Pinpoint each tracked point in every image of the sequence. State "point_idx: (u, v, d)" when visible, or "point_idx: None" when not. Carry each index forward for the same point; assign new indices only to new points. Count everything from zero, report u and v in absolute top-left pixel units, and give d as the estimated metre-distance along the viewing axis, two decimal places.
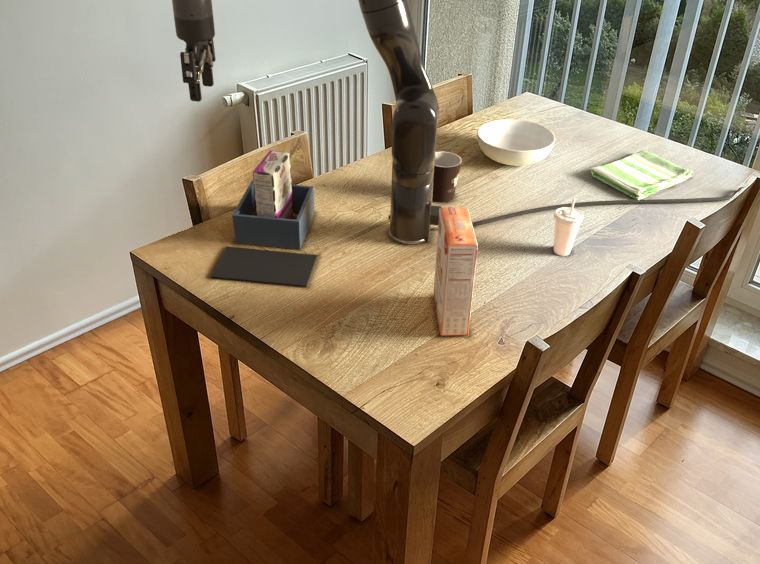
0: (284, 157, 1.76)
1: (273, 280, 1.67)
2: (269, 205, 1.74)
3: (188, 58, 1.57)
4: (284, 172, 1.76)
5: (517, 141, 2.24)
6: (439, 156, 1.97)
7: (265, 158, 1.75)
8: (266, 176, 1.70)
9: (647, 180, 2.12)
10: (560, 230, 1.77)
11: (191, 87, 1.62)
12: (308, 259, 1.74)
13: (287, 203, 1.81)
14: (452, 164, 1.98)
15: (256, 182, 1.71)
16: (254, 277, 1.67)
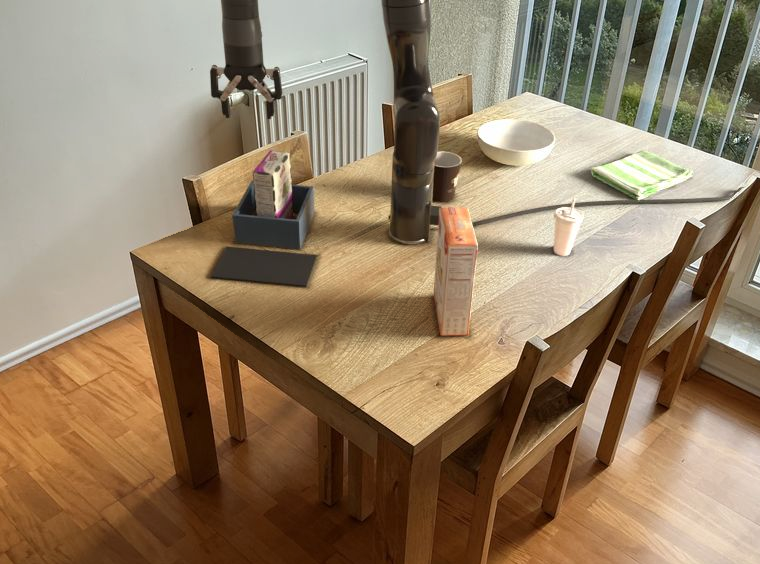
0: (284, 157, 1.76)
1: (273, 280, 1.67)
2: (269, 205, 1.74)
3: None
4: (284, 172, 1.76)
5: (516, 141, 2.24)
6: (439, 156, 1.97)
7: (265, 158, 1.75)
8: (266, 176, 1.70)
9: (647, 180, 2.12)
10: (560, 230, 1.77)
11: None
12: (308, 259, 1.74)
13: (287, 203, 1.81)
14: (452, 164, 1.98)
15: (256, 182, 1.71)
16: (254, 277, 1.67)
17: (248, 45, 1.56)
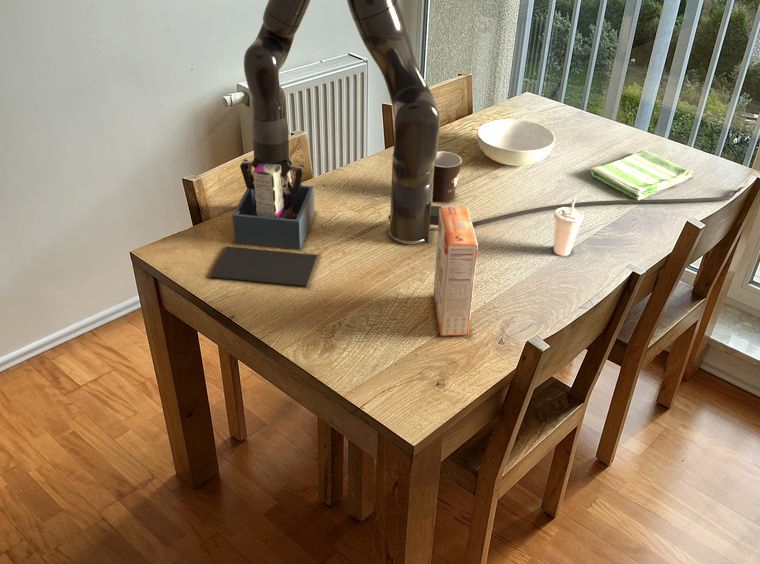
0: None
1: (273, 280, 1.67)
2: (269, 205, 1.74)
3: None
4: None
5: (517, 141, 2.24)
6: (439, 156, 1.97)
7: None
8: (266, 176, 1.70)
9: (647, 180, 2.12)
10: (560, 230, 1.77)
11: None
12: (308, 259, 1.74)
13: None
14: (452, 164, 1.98)
15: (256, 182, 1.71)
16: (254, 277, 1.67)
17: (273, 143, 1.67)
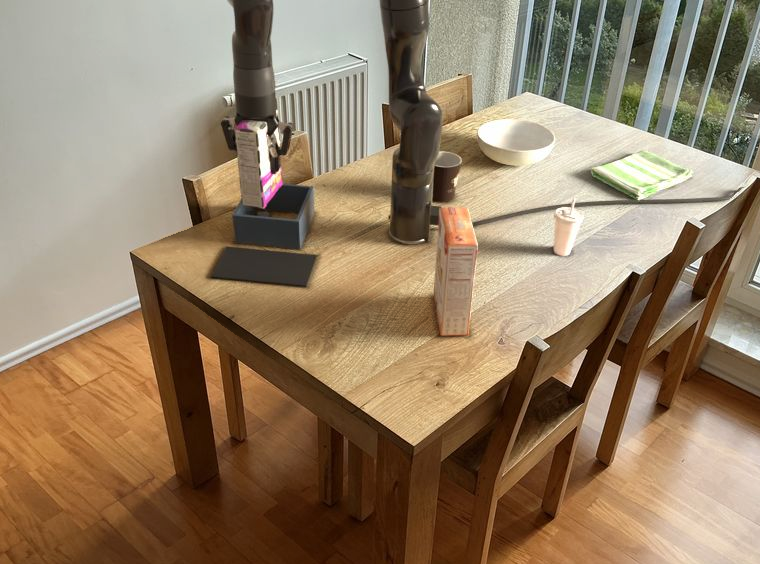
0: None
1: (273, 280, 1.67)
2: (253, 168, 1.54)
3: None
4: None
5: (516, 141, 2.24)
6: (439, 156, 1.97)
7: None
8: (249, 133, 1.49)
9: (647, 180, 2.11)
10: (560, 230, 1.77)
11: None
12: (308, 259, 1.74)
13: None
14: (452, 164, 1.98)
15: (238, 141, 1.51)
16: (254, 277, 1.67)
17: (257, 96, 1.47)
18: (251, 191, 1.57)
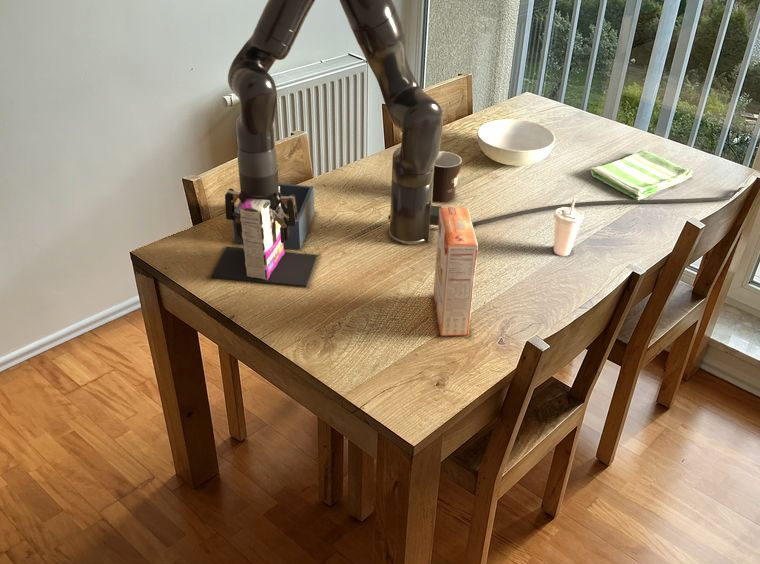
0: None
1: (273, 280, 1.67)
2: (257, 243, 1.61)
3: None
4: None
5: (516, 141, 2.24)
6: (439, 156, 1.97)
7: None
8: (253, 213, 1.57)
9: (647, 180, 2.11)
10: (560, 230, 1.77)
11: None
12: (308, 259, 1.74)
13: (277, 240, 1.68)
14: (452, 164, 1.98)
15: (243, 219, 1.58)
16: None
17: (261, 176, 1.54)
18: (255, 264, 1.64)
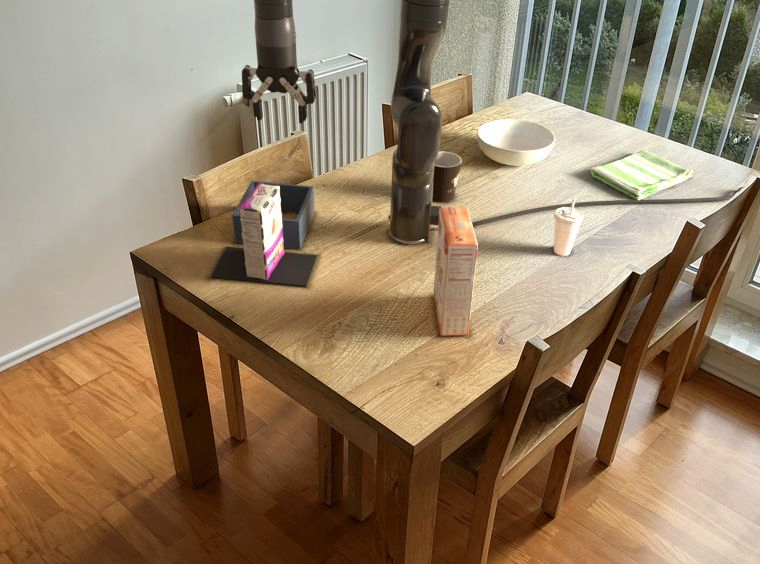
0: (273, 191, 1.62)
1: (273, 280, 1.67)
2: (257, 243, 1.61)
3: None
4: (273, 207, 1.63)
5: (516, 141, 2.24)
6: (439, 156, 1.97)
7: (253, 192, 1.62)
8: (253, 213, 1.57)
9: (647, 180, 2.11)
10: (560, 230, 1.77)
11: None
12: (308, 259, 1.74)
13: (277, 240, 1.68)
14: (452, 164, 1.98)
15: (243, 219, 1.58)
16: None
17: (279, 46, 1.50)
18: (255, 264, 1.64)
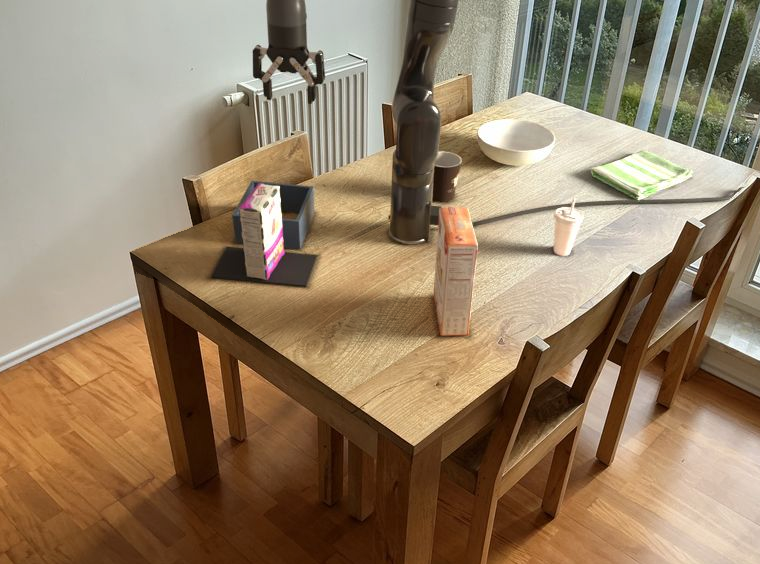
0: (273, 191, 1.62)
1: (273, 280, 1.67)
2: (257, 243, 1.61)
3: None
4: (273, 207, 1.63)
5: (517, 141, 2.24)
6: (439, 156, 1.97)
7: (253, 192, 1.62)
8: (253, 213, 1.57)
9: (647, 180, 2.11)
10: (560, 230, 1.77)
11: None
12: (308, 259, 1.74)
13: (277, 240, 1.68)
14: (452, 164, 1.98)
15: (243, 219, 1.58)
16: None
17: (290, 26, 1.53)
18: (255, 264, 1.64)
